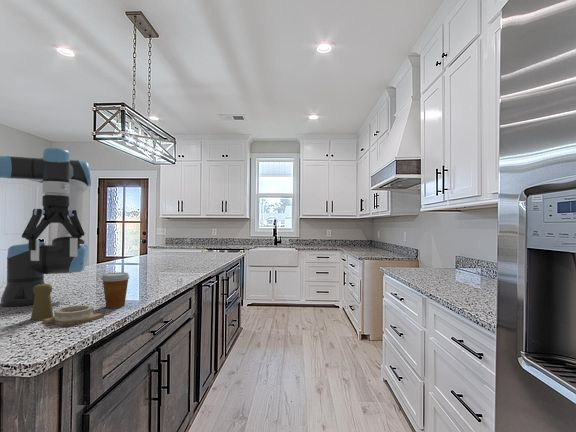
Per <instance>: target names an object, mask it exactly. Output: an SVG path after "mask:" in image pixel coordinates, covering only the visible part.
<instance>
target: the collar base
mask: <svg viewBox="0 0 576 432" xmlns="http://www.w3.org/2000/svg"><path fill="white" fill-rule="evenodd" d="M104 317H105V314H104V313H98V312H94V306H92V305H89V304H77V305H76V304H75V305H68V306H63V307H58V308H57V309H54V310H53V317H51V318H47V319H43V320H41V321H42V322H41V323H42V324H47V325H55V326H61V327H67V328H71V327H74V326H79V325H82V324H85V323H88V322H92V321H95V320H98V318H99V319H102V318H104Z"/></svg>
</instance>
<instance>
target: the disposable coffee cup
mask: <svg viewBox="0 0 576 432" xmlns="http://www.w3.org/2000/svg"><path fill="white" fill-rule="evenodd" d="M101 276H102V277H101V281H102V284H103V293H104V295H103V296H104V301H105V302H104V303H105V307H106V308H107V309H117V308H122V307H124V306H125V304H126V297H127V291H128V283H129V279H130V274H129V272H123V271H122V272H118V271H117V272H107V273H103V274H102V275H101Z"/></svg>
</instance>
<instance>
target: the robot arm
mask: <svg viewBox="0 0 576 432" xmlns="http://www.w3.org/2000/svg"><path fill="white" fill-rule="evenodd" d="M70 156H71V155H70V151H69V150H66V149H63V148H56V147H48V148H44V150H43V155H42V158H39V157H27V156H26V157H23V156H10V155H0V178H3V179H18V180H19V179H21V180H28V181H31V182H35V183H40V184H42V188H41V189H42V194H44V195H42V201H41V202H42V207H43V208H34V209H33V210H32V213H31V217H30V219H29V221H28V222H27V225H26V227H25V229H24V230H23V233H22V234H21V238H22V239H26V240H27V241H28V242H27V243H21V244H15V245H14V244H13V245H11V246H10V247H8V250H7V256H6V260H7V261H6V263H7V264H6V284H5V288H4V290H3V292H2V296H1V298H0V306H2V307H22V306H23V307H24V306H31V305H32V306H33V304H34V298H35V294H34V293H33V288H34V286H36V285H39V284H46V283H45V280H44V279H45V275H55V274H56V275H58V274H60V275H61V274H74V273H81V272H83V271H85V268H86V265H87V260H88V254H89V245H88V244H86V243H85V240H84V239H83V238H82V237H84V236H85V231H84V229H83V226H82V221H83V219H82V218H83V205H84V204H83V203H84V201H83V200H84V192H86V191H87V190H88V187H90V186H92V180H91V173H90V164H89V163H88V161H86V160H79V159H76V160H75V159H73V160H72V159H71V157H70ZM42 216H43V217H42ZM50 224H57V228H56V229H57V231H56V237H55V238H53V239H52V241H51V244H47V245H46V243H45V242H44V241H40V239H38V238H39V237H40V236H41V234H43V232H44V230H45V229H46V228H47V227H48V226H49V225H50Z"/></svg>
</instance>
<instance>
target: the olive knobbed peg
mask: <svg viewBox="0 0 576 432" xmlns="http://www.w3.org/2000/svg"><path fill="white" fill-rule="evenodd" d="M52 292H53V286H52V284H50V283H45V284H39V285H36V286H34V288H33V293H34V294H35V298H34V304H32V310H31V311H32V312H31V317H30V320H31V321H42V320H43V319H47V318H51V317H54V310H53V304H52V298H51V293H52Z"/></svg>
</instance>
